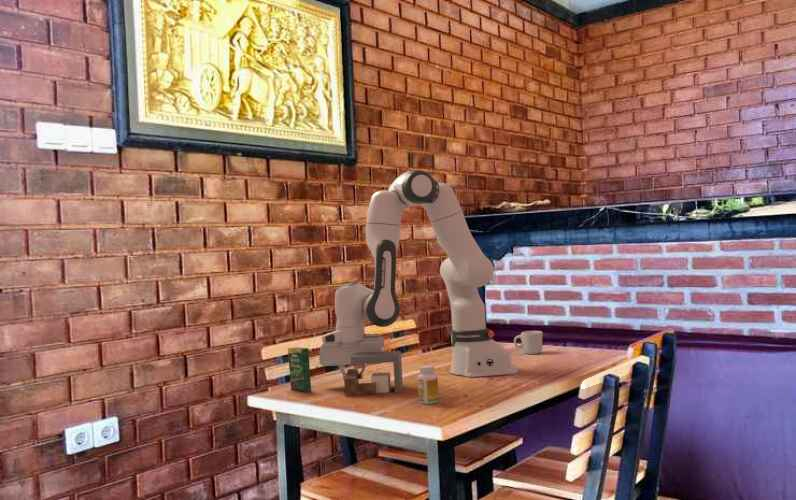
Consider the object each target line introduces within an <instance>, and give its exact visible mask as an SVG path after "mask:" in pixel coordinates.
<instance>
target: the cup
mask: <svg viewBox="0 0 796 500" xmlns="http://www.w3.org/2000/svg"><path fill="white" fill-rule="evenodd" d="M543 333H544V332H543V331H541V330H525V331H522V332H521V333H520V334H518V335H516V336H515V337H514V338H513V345H514V346H515V347H516V349H517V348H518V349H523V352H524V353H525V354H526V353H527V354H526V355H538V353H539V354H541V353H542V351H543V335H544V334H543ZM518 339H520V341H521V344H520V345H518V343H517V340H518Z"/></svg>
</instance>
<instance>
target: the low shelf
mask: <svg viewBox="0 0 796 500" xmlns="http://www.w3.org/2000/svg"><path fill="white" fill-rule="evenodd" d="M362 363H381V364H384V363H385V364H387V363H393V379H394V394H401V392H402V390H403V388H404V385H403V382H404V381H403V367H402V364H403V363H402V351H401V350H388V351H384V352H360V353H354V354H353V355H352V356H351V364H362Z"/></svg>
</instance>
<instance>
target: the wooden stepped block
mask: <svg viewBox="0 0 796 500" xmlns="http://www.w3.org/2000/svg"><path fill="white" fill-rule="evenodd" d="M358 373H359V368H355V367H354V368H348V369H347V371H346V376H345V378H344V380H343V382H344V383H343V385H344V396H345V397H352V396H353V397H354V396H369V395H377V393H376V383H372V382H362V383H360V381H359V380H360V379H358Z"/></svg>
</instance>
